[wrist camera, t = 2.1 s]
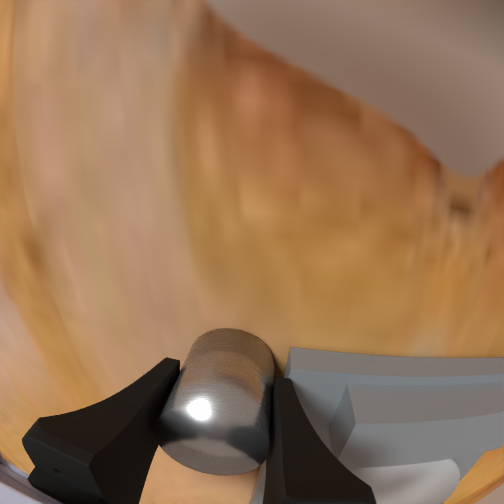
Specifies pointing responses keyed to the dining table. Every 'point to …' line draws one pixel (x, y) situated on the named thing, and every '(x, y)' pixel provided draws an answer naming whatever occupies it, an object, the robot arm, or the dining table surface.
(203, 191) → the dining table surface
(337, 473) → the robot arm
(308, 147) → the dining table surface
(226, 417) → the cylinder
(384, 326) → the dining table surface
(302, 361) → the scale
